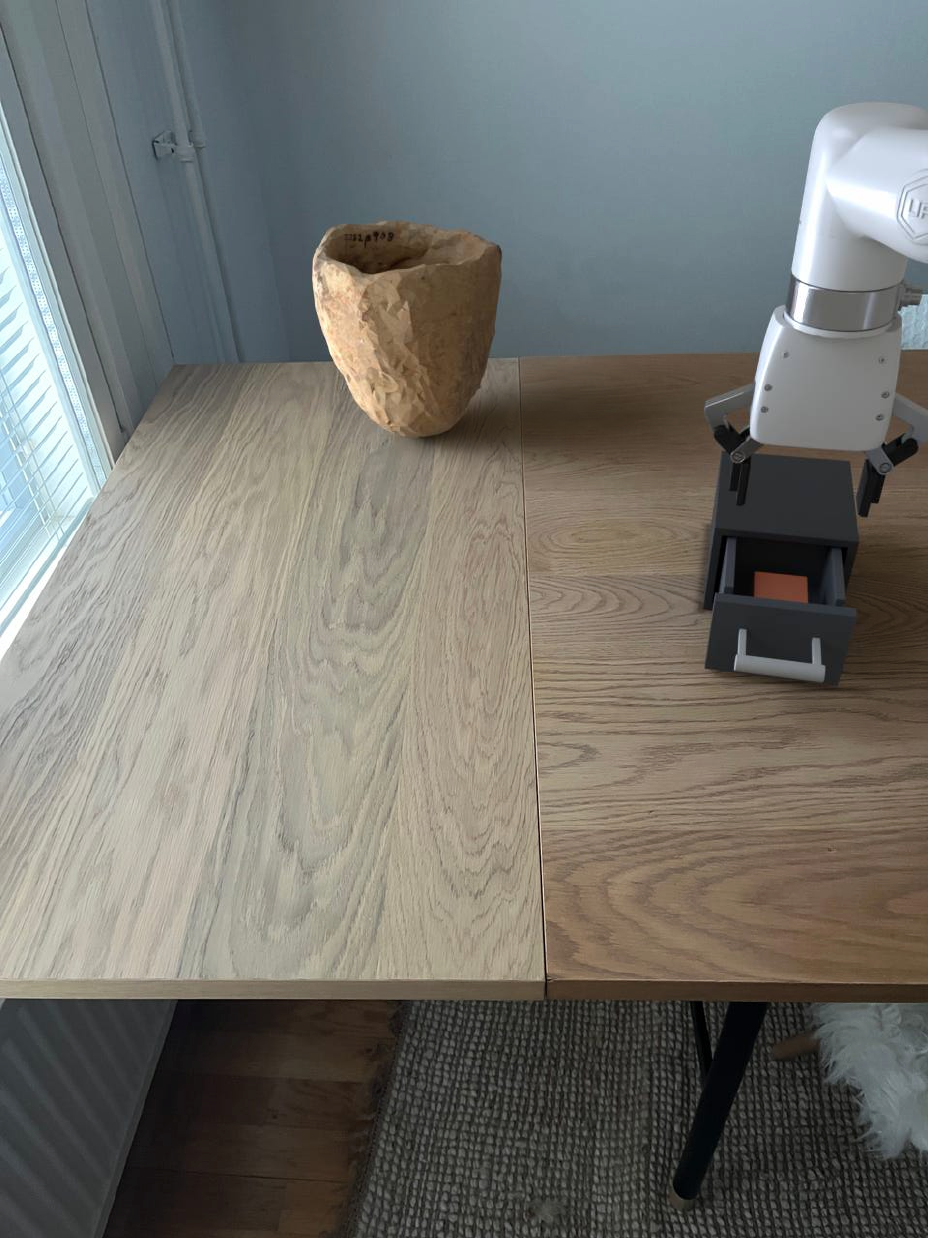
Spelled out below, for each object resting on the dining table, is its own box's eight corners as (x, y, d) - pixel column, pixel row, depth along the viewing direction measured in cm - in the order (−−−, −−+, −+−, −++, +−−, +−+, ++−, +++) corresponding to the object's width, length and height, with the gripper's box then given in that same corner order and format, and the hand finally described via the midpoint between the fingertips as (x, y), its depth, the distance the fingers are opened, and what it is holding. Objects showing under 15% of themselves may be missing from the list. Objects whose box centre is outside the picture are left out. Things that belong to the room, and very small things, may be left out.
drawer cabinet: (837, 624, 90) (859, 541, 84) (702, 609, 93) (714, 527, 87) (831, 539, 101) (850, 460, 95) (710, 527, 104) (721, 450, 98)
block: (798, 616, 89) (807, 576, 86) (799, 647, 85) (808, 607, 82) (747, 610, 90) (754, 570, 87) (746, 641, 86) (753, 601, 83)
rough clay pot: (542, 425, 124) (544, 227, 108) (424, 496, 112) (406, 285, 96) (420, 380, 136) (405, 196, 121) (300, 440, 124) (267, 244, 108)
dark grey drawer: (840, 726, 79) (861, 655, 74) (700, 706, 82) (711, 637, 77) (831, 593, 93) (848, 527, 88) (711, 580, 95) (721, 515, 90)
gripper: (964, 285, 69) (906, 489, 80) (719, 276, 73) (696, 471, 84) (980, 325, 63) (916, 538, 74) (715, 313, 67) (690, 517, 78)
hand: (799, 503), depth 79 cm, fingers open, 9 cm apart
